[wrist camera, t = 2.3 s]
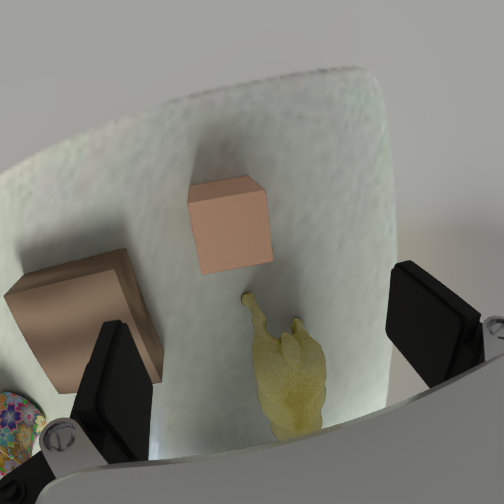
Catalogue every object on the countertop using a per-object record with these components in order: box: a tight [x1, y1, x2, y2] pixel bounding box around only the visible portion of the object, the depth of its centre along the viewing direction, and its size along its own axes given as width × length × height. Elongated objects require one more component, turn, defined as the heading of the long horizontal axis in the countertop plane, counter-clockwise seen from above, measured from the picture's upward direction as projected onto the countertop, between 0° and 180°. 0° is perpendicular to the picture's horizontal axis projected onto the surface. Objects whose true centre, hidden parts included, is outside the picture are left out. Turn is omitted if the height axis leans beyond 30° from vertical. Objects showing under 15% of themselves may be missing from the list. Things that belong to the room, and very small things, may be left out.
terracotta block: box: [187, 176, 274, 275], centre depth 24 cm, size 5×5×7 cm
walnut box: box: [4, 248, 164, 394], centre depth 27 cm, size 12×12×5 cm
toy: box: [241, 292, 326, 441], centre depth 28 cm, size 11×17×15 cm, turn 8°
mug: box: [0, 392, 46, 476], centre depth 28 cm, size 12×9×11 cm
